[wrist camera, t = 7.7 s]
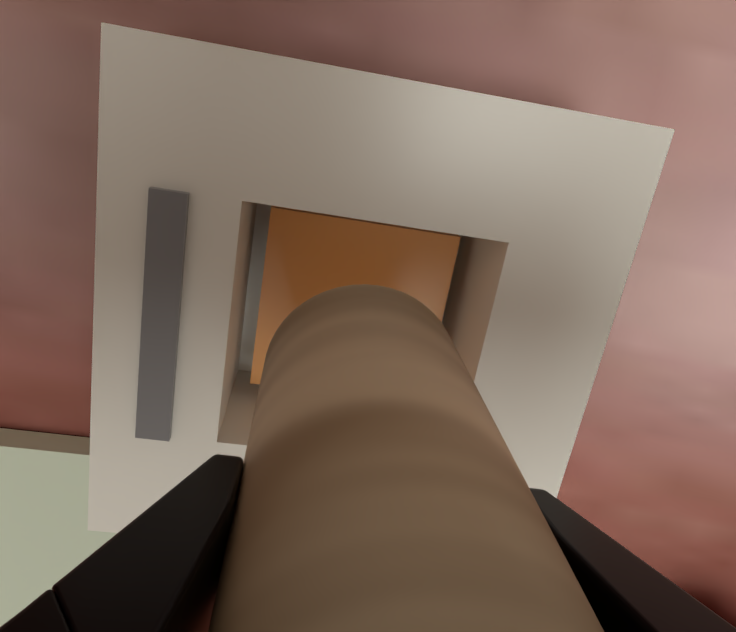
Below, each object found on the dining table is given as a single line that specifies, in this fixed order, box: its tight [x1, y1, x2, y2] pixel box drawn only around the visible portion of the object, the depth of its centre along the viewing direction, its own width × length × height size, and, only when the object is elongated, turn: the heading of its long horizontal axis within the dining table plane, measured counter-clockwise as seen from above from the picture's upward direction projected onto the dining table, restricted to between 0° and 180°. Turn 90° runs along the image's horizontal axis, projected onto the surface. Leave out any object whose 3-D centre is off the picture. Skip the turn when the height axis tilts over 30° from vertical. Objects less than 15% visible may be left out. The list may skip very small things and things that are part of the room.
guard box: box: [88, 22, 675, 533], centre depth 17 cm, size 12×12×5 cm
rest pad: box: [0, 428, 117, 627], centre depth 21 cm, size 9×9×1 cm
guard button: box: [250, 206, 461, 384], centre depth 18 cm, size 5×5×2 cm
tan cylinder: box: [208, 284, 604, 632], centre depth 8 cm, size 4×4×10 cm
